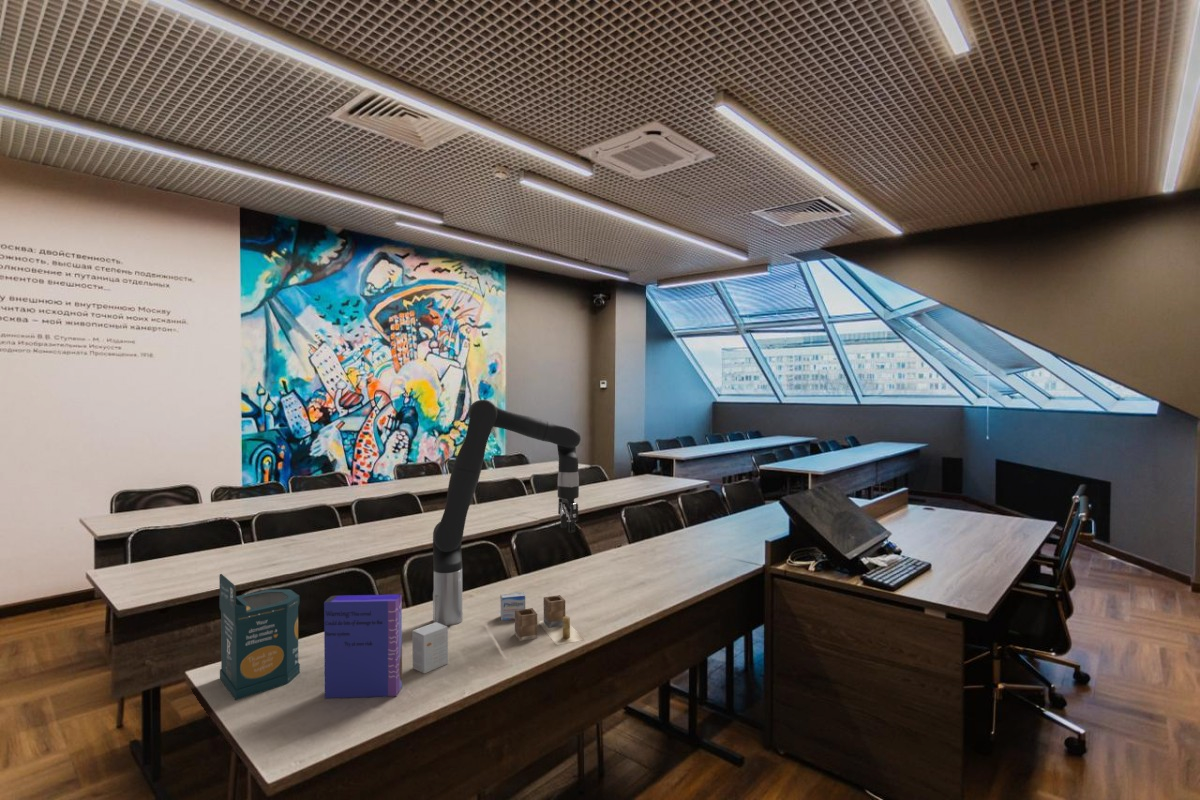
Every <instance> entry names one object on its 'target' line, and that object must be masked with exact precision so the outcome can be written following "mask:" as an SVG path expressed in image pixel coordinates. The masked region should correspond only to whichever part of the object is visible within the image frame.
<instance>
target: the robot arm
mask: <svg viewBox="0 0 1200 800" xmlns="http://www.w3.org/2000/svg"><path fill="white" fill-rule="evenodd" d="M467 415H468V419H469V420H468V424H467V430H466V434H465V437H464V440H463V442H462V445H461V447H460V449H459V450H458V453H457V455H456V458H455V460H454V463H453V466H452V468H451V469H452V470H451V474H450V477H449V481H448V487H447V494H446V503H445V509H444V511H443V514H442V516H441V520H440V521H439V522H438V523H437V524H436V525H435V527H434V529H433V532H432V549H433V550H432V553H433V555H432V556H433V557H432V558H433V559H432V561H433V592H432V619H433V623H435V622H437V623H440V624H442V625H445V626H447V627H448V626H454V625H457V624H460V623H461V622H462V621H463V558H462V555H463V554H462V542H463V537H464V531H465V525H466V519H467V514H468V511H469V508H470V505H471V503H472V500H473V498H474V495H475V492H476V489H477V485H478V483H479V480H480V475H481V473H482V468H483V464H484V459H485V454H486V448H487V444H488V440H489V439H490V438H489V437H490V436H491V432H492V431H493V428H498V429H503V430H507V431H511V432H512V433H513V432H514V433H515V434H516V433H517V434H520V435H521V436H522V435H523V437H524V436H525V437H528V438H531V439H534V440H538V441H540V442H541V441H542V442H545V443H552V444H554V445H557V446H556V447H557V454H558V473H557V498H558V505H557V506H558V509H557V510H558V512H557V513H558V515H559V517H560V528H561V529H566V528H568V533H570V534H573V533H576V522H578V521H579V504H578V502H577V503H575V499H578V498H579V495H580V494H579V493H580V492H579V490H580V489H579V488H580V486H579V485H580V477H579V475H580V474H579V457H578V455H577V451H576V450H577V449H576V448H577V447H578V445H580V443H581V441H582V440H581V435H580V432H578V431H577V430H576V429H574V428H571V427H567V426H565V425H564V426H562V425H558V424H555V423H553V422H550V421H547V420H542V419H540V418H538V417H537V418H536V417H533V416H529V415H523V414H518V413H515V412H511V411H507V410H505V409H503V408H500V407H498V406H496V405H495V403H494V402H492V401H490V400H488V399H479V400H476V401H474V402H473V403H472V404H471V405H470V406H469V408H468V412H467Z"/></svg>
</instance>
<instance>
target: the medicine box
mask: <svg viewBox="0 0 1200 800" xmlns="http://www.w3.org/2000/svg"><path fill="white" fill-rule="evenodd" d="M522 609H526V595H525V593H524V592H523V591H522V592H513V593H512V592H511V593H502V594H500V619H501V621H510V620H514V621H515V610H522Z"/></svg>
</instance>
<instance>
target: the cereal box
mask: <svg viewBox="0 0 1200 800" xmlns="http://www.w3.org/2000/svg"><path fill="white" fill-rule="evenodd" d="M402 606H403V605H402V594H356V595H355V594H354V595H351V594H348V595H347V594H346V595H331V596H329V597H327V599H326V600H325V601H324V602H323V608H324V609H323V610H324V611H323V615H324V616H323V622H324V623H323V626H324V627H323V628H324V629H323V631H324V633H323V634H324V637H323V638H324V640H323V641H324V646H323V647H324V651H323V652H324V699H325V700H326V699H329V700H330V699H331V700H332V699H333V700H334V699H365V698H368V699H370V698H373V699H376V698H397V697H398V695H399V693H400V692H401V690H402V689H403V654H402V653H403V641H402V640H403V636H402V633H403V632H402V629H403V628H402V625H403V624H402V623H403V622H402V619H403V618H402V617H403V614H402V610H403V609H402Z"/></svg>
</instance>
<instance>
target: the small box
mask: <svg viewBox="0 0 1200 800" xmlns="http://www.w3.org/2000/svg"><path fill="white" fill-rule="evenodd" d="M448 632H449V628H448V626H445V625H442V624H440V623H437V622H435V623H434V622H433V623H430V624H428V625H424V626H421V627H418V628H417V629H413V630H412V632H411V634H412V639H411V640H412V642H411V643H412V649H411V650H412V669H414V670H416V671H417V672H420V673H421V674H427V673H429V672H432V671H434V670H436V669H439V668H441V667H443V666H446V665H448V664H449V641H448V640H449V637H448V636H449V633H448Z"/></svg>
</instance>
